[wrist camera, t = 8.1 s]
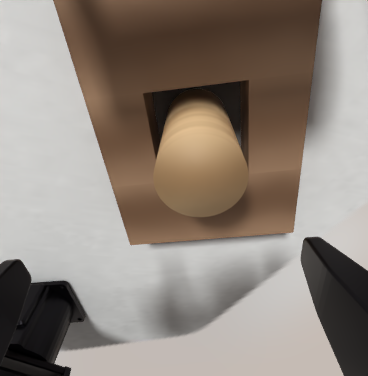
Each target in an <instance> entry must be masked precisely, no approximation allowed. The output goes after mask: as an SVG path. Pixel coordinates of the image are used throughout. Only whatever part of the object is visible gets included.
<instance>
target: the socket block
mask: <svg viewBox="0 0 368 376" xmlns="http://www.w3.org/2000/svg"><path fill="white" fill-rule="evenodd" d="M53 1H54V4H55V7H56V10H57V14H58V17H59V20H60V23H61V26H62V29H63V33H64V36H65V39H66V42H67V45H68V48H69V52H70V55H71V58H72V61H73V64H74V68H75V71H76V74H77V77H78V80H79V83H80V87H81V90H82V93H83V96H84V99H85V102H86V106H87V109H88V112H89V115H90V118H91V121H92V125H93V128H94V131H95V134H96V137H97V140H98V144H99V147H100V150H101V153H102V156H103V160H104V163H105V166H106V169H107V172H108V175H109V179H110V182H111V185H112V188H113V191H114V194H115V198H116V201H117V204H118V207H119V210H120V213H121V217H122V220H123V223H124V226H125V229H126V232H127V236H128V239H129V242H130V245H138V244H151V243H164V242H176V241H189V240H202V239H215V238H227V237H240V236H253V235H266V234H278V233H291V232H293V230H294V222H295V214H296V206H297V198H298V190H299V181H300V173H301V165H302V157H303V149H304V141H305V133H306V125H307V117H308V108H309V100H310V92H311V84H312V76H313V68H314V60H315V52H316V44H317V36H318V27H319V19H320V11H321V3H322V0H53ZM237 81H240V124H241V151H242V153H243V156H244V158H245V161H246V163H247V167H248V174H249V176H248V184H247V187H246V190H245V192H244V194H243V195H242V197H241V198H240V199H239V201H238V202H237V203H236V204H235V205H233V206H232V207H231V208H229V209H228V210H226V211H224V212H222V213H220V214H217V215H213V216H209V217H191V216H186V215H183V214H180V213H178V212H176V211H174V210H172V209H171V208H169V207H168V206H167V205H166V204H165V203H164V202H163V201H162V200H161V199H160V197H159V196H158V194H157V192H156V189H155V186H154V180H153V173H154V168H155V164H156V159H157V155H158V151H159V147H160V142H161V141H160V135H159V130H158V124H157V119H156V113H155V108H154V102H153V97H152V92H157V91H165V90H173V89H181V88H189V87H197V86H205V85H213V84H221V83H229V82H237Z"/></svg>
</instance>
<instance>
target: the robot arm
mask: <svg viewBox="0 0 368 376" xmlns="http://www.w3.org/2000/svg"><path fill="white" fill-rule="evenodd" d="M301 264H302V267H303V270H304V274H305V277H306V280H307V283H308V286H309V290H310V293H311V296H312V300H313V303H314V306H315V309H316V312H317V314H318V317H319V319H320V322H321V324H322V326H323V329H324V331H325V333H326V336H327V338H328V340H329V342H330V345H331V347H332V349H333V352H334V354H335V356H336V358H337V361H338V363H339V365H340V368H341V370H342V372H343V375H344V376H368V271H367V270H366V269H364V268H363V267H362V266H360V265H359V264H357V263H356V262H354V261H353V260H352V259H350V258H349V257H347V256H346V255H345V254H343V253H342V252H340V251H339V250H337V249H336V248H335V247H333V246H332V245H330V244H329V243H327V242H326V241H325V240H323V239H322V238H320V237H307V238H305V239H304V241H303V246H302V252H301ZM84 319H85V314H84V313H83V311H82V309H81V307H80V305H79V303H78V302H77V300H76V298H75V296H74V294H73V292H72V291H71V289H70V287H69V285H68V283H67V282H65V281H54V282H39V283H31V275H30V274H29V272H28V270H27V269H26V267H25V265H24V264H23V262H22V261H21V260H19V259H14V260H6V261H4V262H2V263H1V264H0V376H70V371H71V368H69V367H62V366H59V365H56V364H54V363H55V360H56V358H57V355H58V353H59V350H60V348H61V345H62V342H63V340H64V337H65V335H66V332H67V330H68V327H69V325H70V322H83V321H84Z"/></svg>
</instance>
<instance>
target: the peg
mask: <svg viewBox="0 0 368 376" xmlns="http://www.w3.org/2000/svg"><path fill="white" fill-rule="evenodd" d="M248 176H249V174H248V167H247V163H246V161H245V158H244V156H243V153H242V151H241V148H240V145H239V143H238V140H237V138H236V135H235V132H234V130H233V127H232V125H231V122H230V119H229V117H228V114H227V112H226V109H225V107H224V104H223V103H222V101H221V100H220V98H219V97H218V96H217V95H215V94H214V93H212V92H210V91H208V90H205V89H198V88H197V89H189V90H187V91H184V92H182V93H181V94H179V95H178V96H177V97H176V98H175V99H174V100H173V101H172V103H171V105H170V107H169V109H168V113H167V117H166V121H165V126H164V130H163V134H162V138H161V142H160V147H159V151H158V155H157V159H156V164H155V168H154V173H153V180H154V186H155V189H156V192H157V194H158V196H159V197H160V199H161V200H162V201H163V202H164V203H165V204H166V205H167V206H168V207H169V208H171V209H172V210H174V211H176V212H178V213H180V214H183V215H186V216H191V217H209V216H213V215H217V214H220V213H222V212H224V211H226V210H228V209H229V208H231V207H232V206H233V205H235V204H236V203H237V202H238V201H239V199H240V198H241V197H242V195H243V194H244V192H245V190H246V187H247V184H248Z"/></svg>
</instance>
